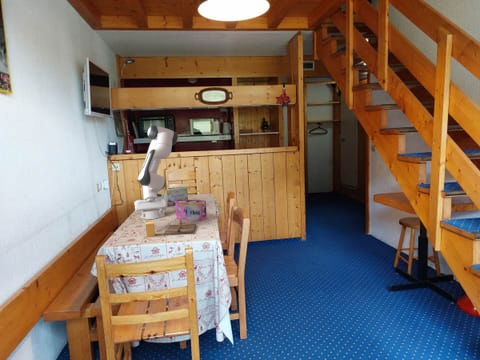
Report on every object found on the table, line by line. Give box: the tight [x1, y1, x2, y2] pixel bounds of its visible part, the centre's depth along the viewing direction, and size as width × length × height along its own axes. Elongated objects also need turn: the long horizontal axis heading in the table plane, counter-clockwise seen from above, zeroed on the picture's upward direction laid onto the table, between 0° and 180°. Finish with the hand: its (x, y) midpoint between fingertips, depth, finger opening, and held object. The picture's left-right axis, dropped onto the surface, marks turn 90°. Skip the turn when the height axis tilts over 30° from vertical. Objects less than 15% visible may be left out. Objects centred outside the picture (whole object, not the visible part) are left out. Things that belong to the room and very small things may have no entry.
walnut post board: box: [163, 219, 197, 236], centre depth 208 cm, size 18×18×7 cm
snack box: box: [163, 186, 189, 208], centre depth 292 cm, size 21×6×15 cm, turn 131°
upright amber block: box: [145, 221, 156, 238], centre depth 200 cm, size 5×5×8 cm
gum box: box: [175, 199, 208, 222], centre depth 237 cm, size 24×8×14 cm, turn 64°
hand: (151, 215), depth 206 cm, fingers open, 8 cm apart
